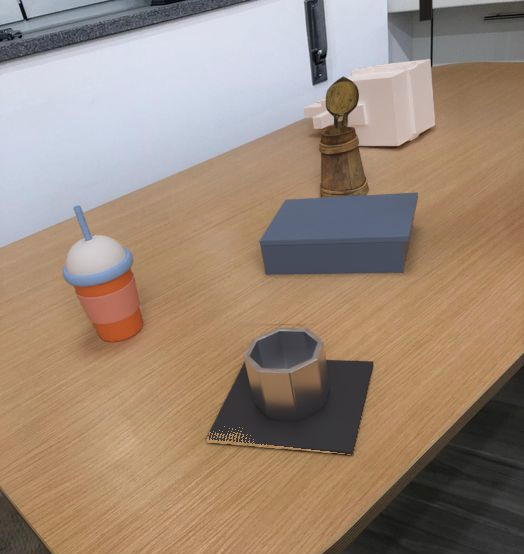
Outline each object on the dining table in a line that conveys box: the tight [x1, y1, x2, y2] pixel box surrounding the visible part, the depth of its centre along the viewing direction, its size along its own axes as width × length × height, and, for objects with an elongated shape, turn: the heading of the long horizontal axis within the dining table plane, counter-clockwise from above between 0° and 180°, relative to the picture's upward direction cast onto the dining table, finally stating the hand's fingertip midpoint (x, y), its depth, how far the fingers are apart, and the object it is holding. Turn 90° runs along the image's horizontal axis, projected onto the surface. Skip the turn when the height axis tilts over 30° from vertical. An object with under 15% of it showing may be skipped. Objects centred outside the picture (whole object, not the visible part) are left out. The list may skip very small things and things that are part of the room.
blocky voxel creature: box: [303, 58, 436, 147], centre depth 132 cm, size 15×25×28 cm
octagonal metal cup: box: [243, 327, 330, 422], centre depth 62 cm, size 8×8×6 cm
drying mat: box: [205, 359, 375, 455], centre depth 64 cm, size 15×14×1 cm
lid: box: [259, 191, 419, 247], centre depth 87 cm, size 20×15×1 cm
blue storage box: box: [260, 223, 414, 276], centre depth 89 cm, size 20×15×5 cm
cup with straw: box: [62, 205, 144, 343], centre depth 78 cm, size 9×9×18 cm
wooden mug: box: [318, 76, 369, 198], centre depth 107 cm, size 9×14×18 cm, turn 164°
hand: (426, 18), depth 79 cm, fingers closed
